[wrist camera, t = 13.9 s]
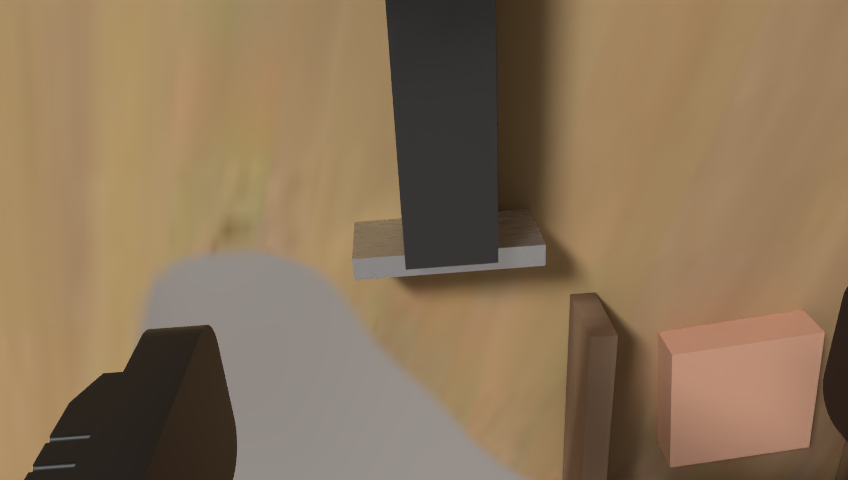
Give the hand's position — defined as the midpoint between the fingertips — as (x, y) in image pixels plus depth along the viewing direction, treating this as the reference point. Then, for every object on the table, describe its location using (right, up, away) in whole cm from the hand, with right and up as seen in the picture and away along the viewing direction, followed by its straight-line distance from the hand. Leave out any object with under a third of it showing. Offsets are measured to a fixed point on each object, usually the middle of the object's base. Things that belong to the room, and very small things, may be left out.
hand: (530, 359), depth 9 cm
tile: (+12, -4, +22) cm, 25 cm away
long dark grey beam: (-1, +8, +15) cm, 17 cm away
